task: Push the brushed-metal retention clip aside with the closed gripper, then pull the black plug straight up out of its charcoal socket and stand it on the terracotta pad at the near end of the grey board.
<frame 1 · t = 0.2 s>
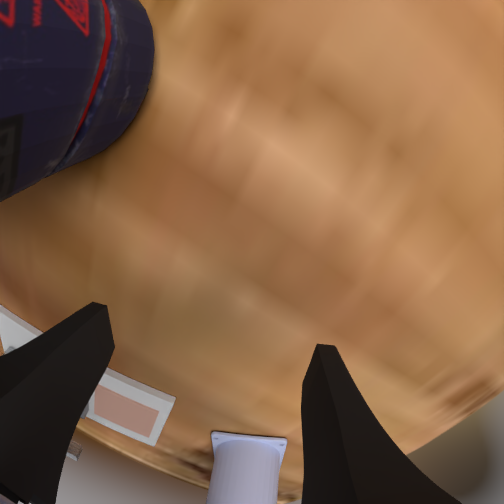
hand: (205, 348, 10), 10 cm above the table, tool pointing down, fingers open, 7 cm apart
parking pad: (123, 412, 29), resting on dock board
red-striped navy canister: (76, 57, 15), on the table
dock board: (63, 375, 29), on the table
retention clip: (36, 401, 25), point 5 cm above the table, hinge at 0.0°
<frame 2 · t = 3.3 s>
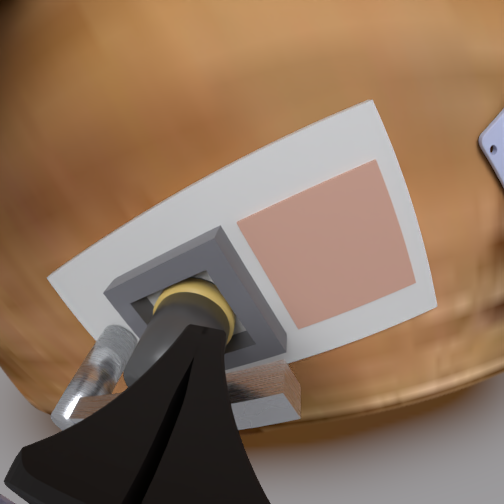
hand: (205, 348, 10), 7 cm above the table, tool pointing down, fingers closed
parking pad: (334, 253, 15), resting on dock board
plug: (198, 308, 18), point 1 cm above the table, touching dock board
dock board: (201, 299, 18), on the table
retention clip: (164, 366, 14), point 5 cm above the table, hinge at -2.2°, touching gripper
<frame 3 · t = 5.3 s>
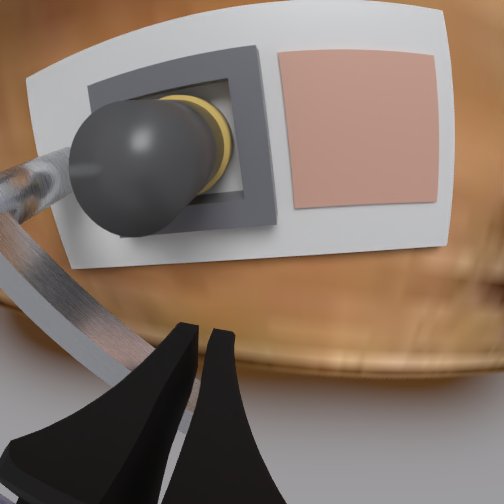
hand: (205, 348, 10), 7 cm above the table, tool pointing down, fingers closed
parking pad: (367, 127, 12), resting on dock board
plug: (186, 143, 14), point 1 cm above the table, touching dock board
dock board: (191, 140, 14), on the table
retention clip: (108, 275, 12), point 5 cm above the table, hinge at -51.9°, touching gripper
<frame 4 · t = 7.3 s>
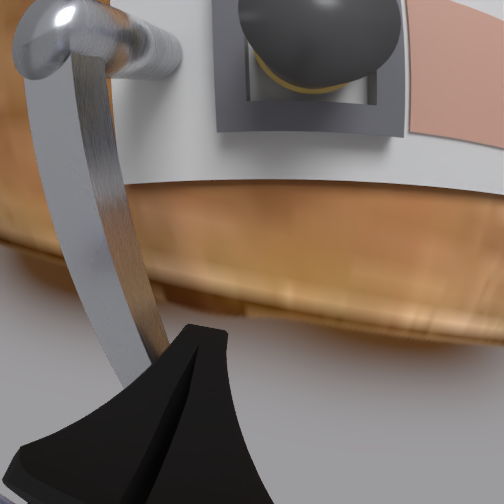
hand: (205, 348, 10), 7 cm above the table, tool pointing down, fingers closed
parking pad: (472, 71, 10), resting on dock board
plug: (308, 45, 11), point 1 cm above the table, touching dock board
dock board: (307, 48, 12), on the table
retention clip: (138, 194, 11), point 5 cm above the table, hinge at -85.7°
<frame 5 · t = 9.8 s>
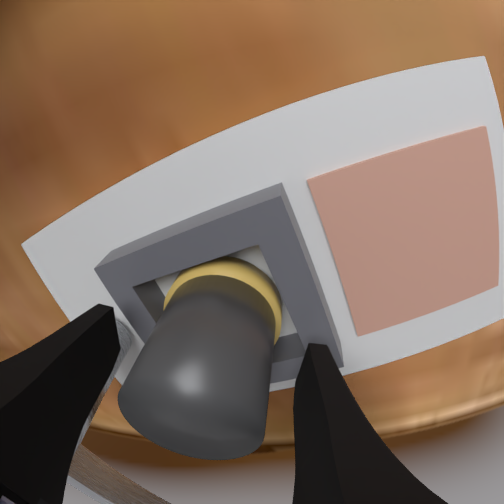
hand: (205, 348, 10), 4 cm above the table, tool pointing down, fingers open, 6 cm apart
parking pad: (423, 238, 11), resting on dock board
plug: (227, 300, 13), point 1 cm above the table, touching dock board
dock board: (230, 289, 13), on the table
retention clip: (153, 455, 13), point 5 cm above the table, hinge at -85.7°, touching gripper
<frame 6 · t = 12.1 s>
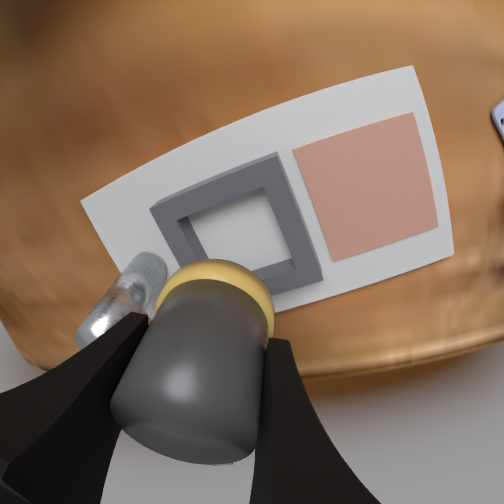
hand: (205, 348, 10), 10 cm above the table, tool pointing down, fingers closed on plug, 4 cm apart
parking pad: (373, 188, 17), resting on dock board
plug: (219, 303, 13), point 8 cm above the table, touching gripper
dock board: (242, 228, 19), on the table
retention clip: (178, 367, 19), point 5 cm above the table, hinge at -85.9°
when the fingers open (5 cm above the table, at t = 14.0 s): plug drops 1 cm, resting on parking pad.
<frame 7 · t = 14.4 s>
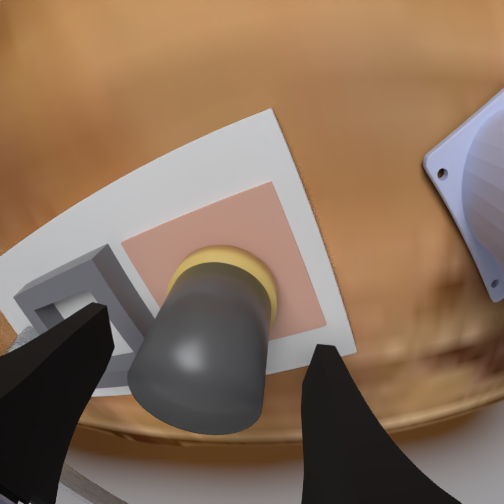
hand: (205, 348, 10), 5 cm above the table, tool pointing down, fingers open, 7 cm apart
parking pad: (225, 284, 14), resting on dock board
plug: (225, 287, 14), point 1 cm above the table, touching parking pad
dock board: (103, 313, 17), on the table
retention clip: (65, 432, 16), point 5 cm above the table, hinge at -85.9°
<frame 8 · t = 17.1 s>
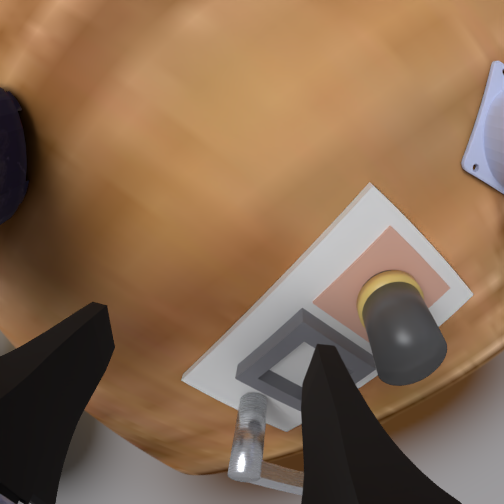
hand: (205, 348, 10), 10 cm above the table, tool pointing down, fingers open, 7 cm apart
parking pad: (385, 294, 20), resting on dock board
plug: (387, 296, 20), point 1 cm above the table, touching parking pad
dock board: (305, 354, 24), on the table
retention clip: (302, 454, 23), point 5 cm above the table, hinge at -85.9°
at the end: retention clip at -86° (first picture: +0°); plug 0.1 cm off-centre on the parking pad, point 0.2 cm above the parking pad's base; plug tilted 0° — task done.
